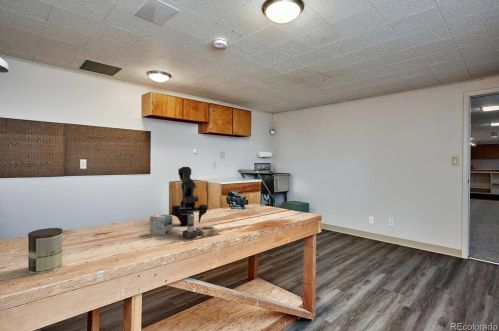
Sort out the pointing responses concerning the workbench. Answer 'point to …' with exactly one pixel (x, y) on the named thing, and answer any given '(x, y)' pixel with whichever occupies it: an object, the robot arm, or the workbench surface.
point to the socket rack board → (199, 233)
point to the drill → (190, 223)
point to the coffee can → (44, 250)
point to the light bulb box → (160, 224)
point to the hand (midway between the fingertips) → (190, 223)
